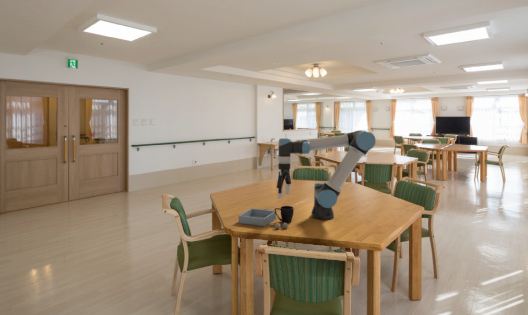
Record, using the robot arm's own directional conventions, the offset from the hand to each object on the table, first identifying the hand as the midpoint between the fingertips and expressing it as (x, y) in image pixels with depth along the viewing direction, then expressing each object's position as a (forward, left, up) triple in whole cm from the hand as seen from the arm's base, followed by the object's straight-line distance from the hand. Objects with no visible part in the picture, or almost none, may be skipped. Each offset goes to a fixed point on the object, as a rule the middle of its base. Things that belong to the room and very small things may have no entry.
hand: (284, 196), depth 207 cm
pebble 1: (-1, +15, -17) cm, 22 cm away
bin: (+16, +5, -17) cm, 23 cm away
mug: (0, 0, -17) cm, 17 cm away
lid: (+20, -14, -17) cm, 29 cm away
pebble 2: (-5, +12, -17) cm, 21 cm away
